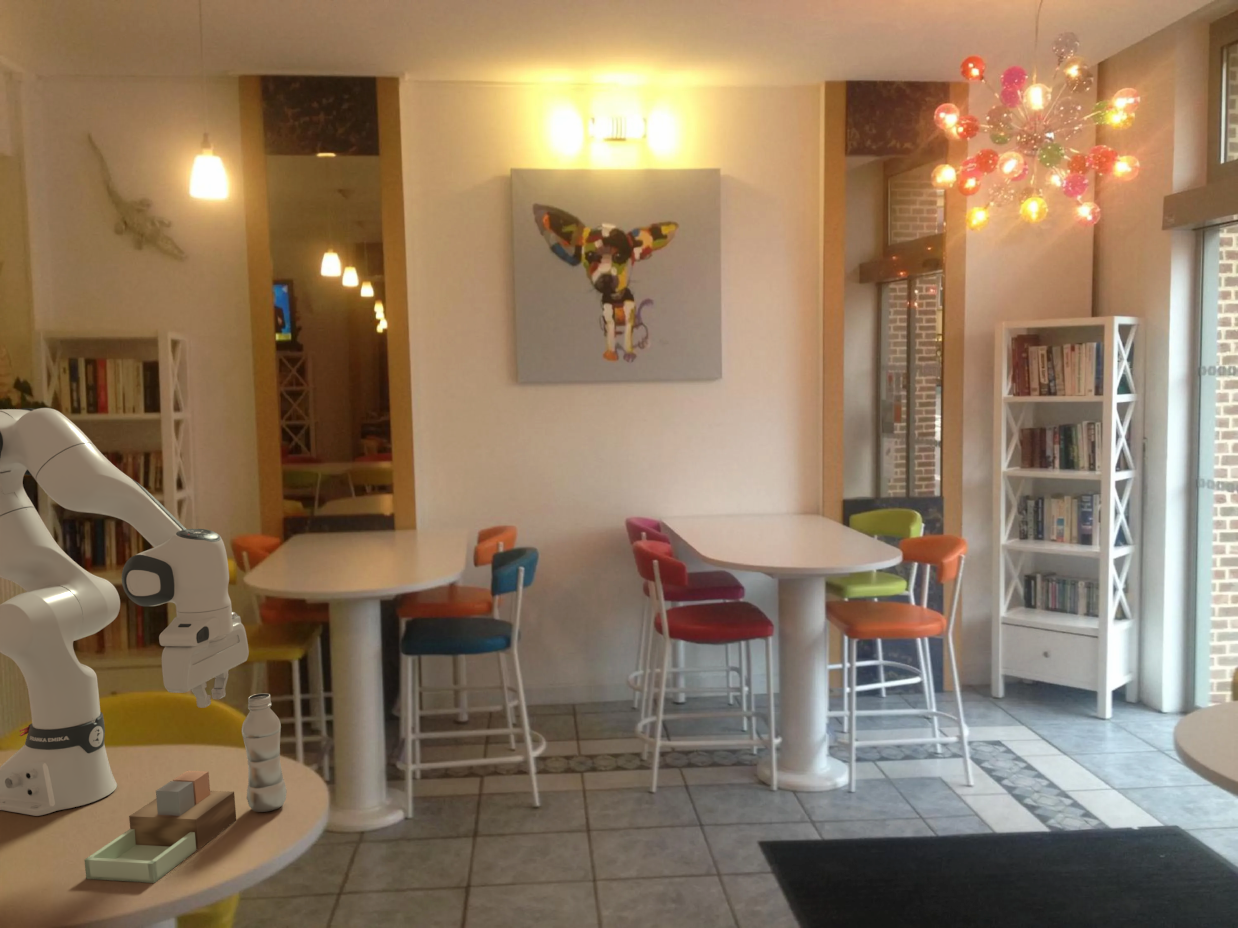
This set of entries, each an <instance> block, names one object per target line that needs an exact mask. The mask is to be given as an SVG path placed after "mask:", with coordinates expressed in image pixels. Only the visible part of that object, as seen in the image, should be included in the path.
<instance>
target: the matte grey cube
mask: <svg viewBox="0 0 1238 928" xmlns="http://www.w3.org/2000/svg"><path fill="white" fill-rule="evenodd" d="M155 799H157V811H158V815H173V816H181V815H182V814H183V813H185V812H186V811H188V810H189V809H190V808H192V807H193V806H195V803H194V791H193V782H181V781H173V780H171V781H169V782H167V783H166V784H164V785H162V786H161V787H159V788H158V789H157V790H155Z"/></svg>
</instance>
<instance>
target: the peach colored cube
mask: <svg viewBox="0 0 1238 928" xmlns="http://www.w3.org/2000/svg"><path fill="white" fill-rule="evenodd" d="M209 774H210V772H209V771H204V770H186V771H184V772H183V773H181V774H180V775H178V776H177V777H174V779H172V781H181V782H193V791H194V803H195V804H198V803H199V802H200V801H202V800H203V799H205V798H206V797H208V796H209V795H210V791H211V785H210V775H209Z"/></svg>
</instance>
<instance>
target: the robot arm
mask: <svg viewBox="0 0 1238 928" xmlns="http://www.w3.org/2000/svg"><path fill="white" fill-rule="evenodd" d="M25 475H26V476H32V478H33V480H35V482H36V483H37V484H38V486H39V487H40V488H41V489H42V490H43V491H44V493H45V494H46V495H47V496H48V498H50V499H51V500H52V501H54V502H55V503H56V504H58V505H59V506H60V507H62V508H64V509H65V510H69V511H72V512H78V513H88V514H97V515H102V516H103V515H104V516H109V517H113V518H117V519H119V520H122V521H124V522H126V523H128V524H129V525H131V526H132V528H133V529H135V530H136V531H137V532H138V533H139V534H140V535H141V536H142V537H143V538H144V539H145V540H146V541H147V542H148V543H149V544H150V545H151V546H152V548H149V549H147V550H144V551H141V552H139V553H136V554H134V555H132V556H131V557H130V558H128V560H126V562H125V563H124V566H123V568H122V573H121V585H122V588H123V591H124V593H125V594H126V596H127V597H128V598H129V600H130V601H132V602H133V603H135V604H136V605H138V606H139V607H157V606H161V605H163V604H167V603H173V604H174V605H175V610H176V611H175V612H176V616H175V617H174V618H173V619H172V621H171V622H170V623H169V624H168V625H167V627H165V629H163V631H162V632H161V633H160V634H159V636H158V640H159V645H160V646H161V647H164V648H163V650H162V653H161V671H162V681H163V686H164V688H165V689H166V690H167V692H168V693H179V694H180V693H183V694H185V693H187V692H189V691H192V694H193V695H194V697H195V698H196V707H198V709H199V708H202V709H203V708H207V707H208V706H210V705H211V704H212V701H211V698H212V699H213V700H221V699H223V698H225V697H226V695H227V693H226V686H227V682H228V679H229V670H231V669H234V668H236V667H237V666H239V665H241V664H243V663H245V662H247V660H248V658H249V653H250V650H249V644H248V643H249V642H248V638H247V637H248V636H247V632H246V628H245V626H244V624H243V623H242V619H241V616H240V615H239V614H238V613H236V612H235V611H233V608H232V600H231V598H230V595H229V582H230V571H229V570H230V569H229V561H228V554H227V551H226V546H225V542H224V540H223V539H222V537H221V535H220V534H219V533H218V532H216V531H213V530H209V529H204V528H186V526H184V525H183V524H182V523H181V522H180V521H179V520H178V519H177V518H176V517H175V516H174V515H173V514H172V513H171V512H170V511H169V510H168V509H167V508H165V506H164V505H163V504H162V503H161V502H160V501H159V500H158V499H156V497H154V496H153V495H152V493H150V492H149V491H148V490H147V489H146V488H145V487H144V486H143V485H142V484H140V483H139V482H137V481H136V480H135V479H133V478H132V477H131V476H128V475H127V474H126V473H124V472H123V471H122V470H120V469H119V468H118V467H116V465H114V464H113V463H112V462H111V461H110V460H109V459H108V458H107V457H105V455H104V454H103V453H102V452H101V451H100V449H98V447H97V446H96V445H95V444H94V443H93V442H92V440H91V439H90V438H89V437H88V436H87V435H86V434H85V433H84V432H83V430H81V429H80V428H79V427H78V426H77V425H76V424H75V423H74V422H72V421H71V420H70V419H69V418H68V417H67V416H66V415H64V414H63V413H62V412H60V411H59V410H57V409H54V408H51V407H40V408H32V407H31V408H30V407H22V408H18V409H17V408H16V409H15V408H13V409H12V408H11V409H10V408H7V409H3V408H2V409H0V578H1V579H3V580H7V581H10V582H13V583H14V584H16V585H18V586H19V587H20V588H22V590H24V591H25V592H21V593H19V594H16V595H14V596H12V597H11V598H9V599H7V600H6V601H4V602H2V603H1V604H0V654H2V655H4V656H6V657H8V658H9V659H11V660H12V661H13V662H14V663H15V664H16V666H17V667H18V668H19V670H20V672H21V674H22V676H23V678H24V681H25V683H26V687H27V690H28V700H29V707H30V713H31V723H30V724H29V725H28V726H26V727H24V728H22V729H19V733H20V734H19V736H20V737H22V736H25V735H27V736H26V739H25V742H24V744H23V745H22V747H21V748H19V750H17V751H16V752H15V753H14V754H13V755H12V756H10V757H9V758H8V759H7V760H6V761H5V762H3V764H1V765H0V811H6V812H12V813H18V814H23V815H28V816H29V815H30V816H36V817H38V816H43V815H47V814H51V813H53V812H56V811H61V810H67V809H72V808H75V807H76V808H77V807H80V806H85V805H88V804H90V803H94V802H96V801H99V800H101V799H103V798H105V797H107V796H109V795H111V794H112V793H113V792H114V791H115V790H116V789H117V787H118V783H117V782H116V780H115V777H114V774H113V772H112V768H111V765H110V762H109V758H108V754H107V753H108V752H107V749H106V746H105V735H106V734H105V732H106V727H105V719H104V713H103V712H101V706H100V705H101V704H100V694H99V684H98V676H97V673H96V672H95V670H94V669H93V668H91V667H90V666H88V665H86V664H83V663H81V662H80V661H79V658H78V657H77V655H76V652H75V650H74V641H78V640H81V639H84V638H86V637H89V636H92V635H95V634H97V633H98V632H100V631H101V630H103V629H104V628H106V627H107V626H108V625H110V624H111V623H112V622H114V620H116V618H117V617H118V615H119V614H120V613H119V612H120V609H121V599H120V595H119V592H118V590H117V588H116V587H115V585H114V584H113V583H112V582H110V581H109V580H108V579H105V578H104V577H100V576H97V575H95V574H92V573H91V572H89V571H87V570H86V569H85V568H83V567H82V566H80V564H78V563H77V562H76V561H74V559H73V558H71V556H69V555H68V554H67V553H66V552H65V551H64V550H63V549H62V547H60V546H59V544H58V543H57V542H56V540H55V539H54V538H53V536H52V534H51V532H50V531H49V529H48V528H47V525H46V524H45V522H44V521H43V520H42V519H43V518H41V516H40V514H39V512H38V511H37V509H36V507H35V506H34V504H33V502H32V501H31V499H30V497H29V496H28V494H27V492H26V490H25V488H24V484H23V481H24V476H25ZM213 678H214V684H213V688H212V689H211V695H210V694H208V693H207V691H206V688H207V682H209V681H210V680H212V679H213ZM21 732H22V733H21Z"/></svg>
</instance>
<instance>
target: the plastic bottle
mask: <svg viewBox="0 0 1238 928" xmlns="http://www.w3.org/2000/svg"><path fill="white" fill-rule="evenodd" d="M247 700H248V702H247V703H248V705H247V709H248V710H249V713H248V714H247V716H246V717H245V718H244V720H243V723H242V726H241V735H242V739H243V743H244V746H245V752H246V753H245V754H246V759H247V766H248V773H247V775H248V776H247V777H248V781H247V782H248V783H247V784H248V785H247V789H246V791H247V792H246V800H247V803H248V806H249V808H250V810H252V811H254V812H257V813H265V812H271V811H274V810H277V809H279V808H280V807H283V805H284V804H285V802H286V799H287V785H286V782H285V779H284V776H283V770H282V765H281V748H280V747H281V746H280V745H281V732H282V731H281V728H282V726H281V720H280V718H279V717H278V716H277V714H276V713H275V712H274V711H273V710H272V709H271V706H272V702H271V700H272V699H271V694H270V693H266V692H265V693H263V692H262V693H256V694H252V695H250V696H249V697H248V698H247Z"/></svg>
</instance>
